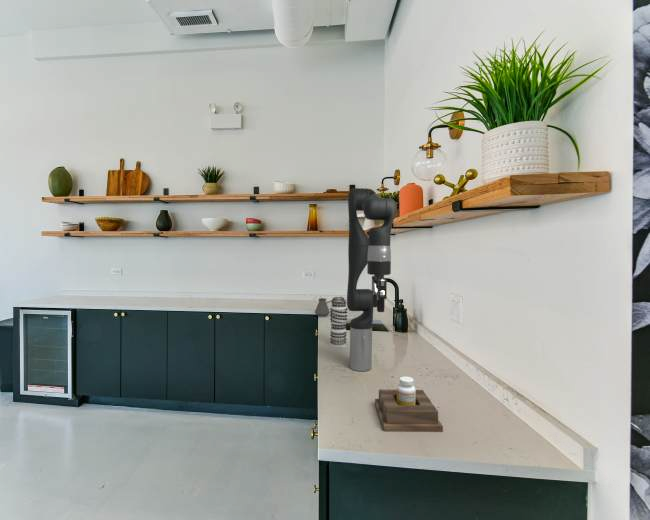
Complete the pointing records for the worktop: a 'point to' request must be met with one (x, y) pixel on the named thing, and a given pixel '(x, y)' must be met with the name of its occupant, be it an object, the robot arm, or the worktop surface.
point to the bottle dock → (407, 413)
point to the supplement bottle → (406, 391)
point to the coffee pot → (322, 308)
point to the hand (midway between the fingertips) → (378, 309)
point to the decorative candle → (338, 322)
